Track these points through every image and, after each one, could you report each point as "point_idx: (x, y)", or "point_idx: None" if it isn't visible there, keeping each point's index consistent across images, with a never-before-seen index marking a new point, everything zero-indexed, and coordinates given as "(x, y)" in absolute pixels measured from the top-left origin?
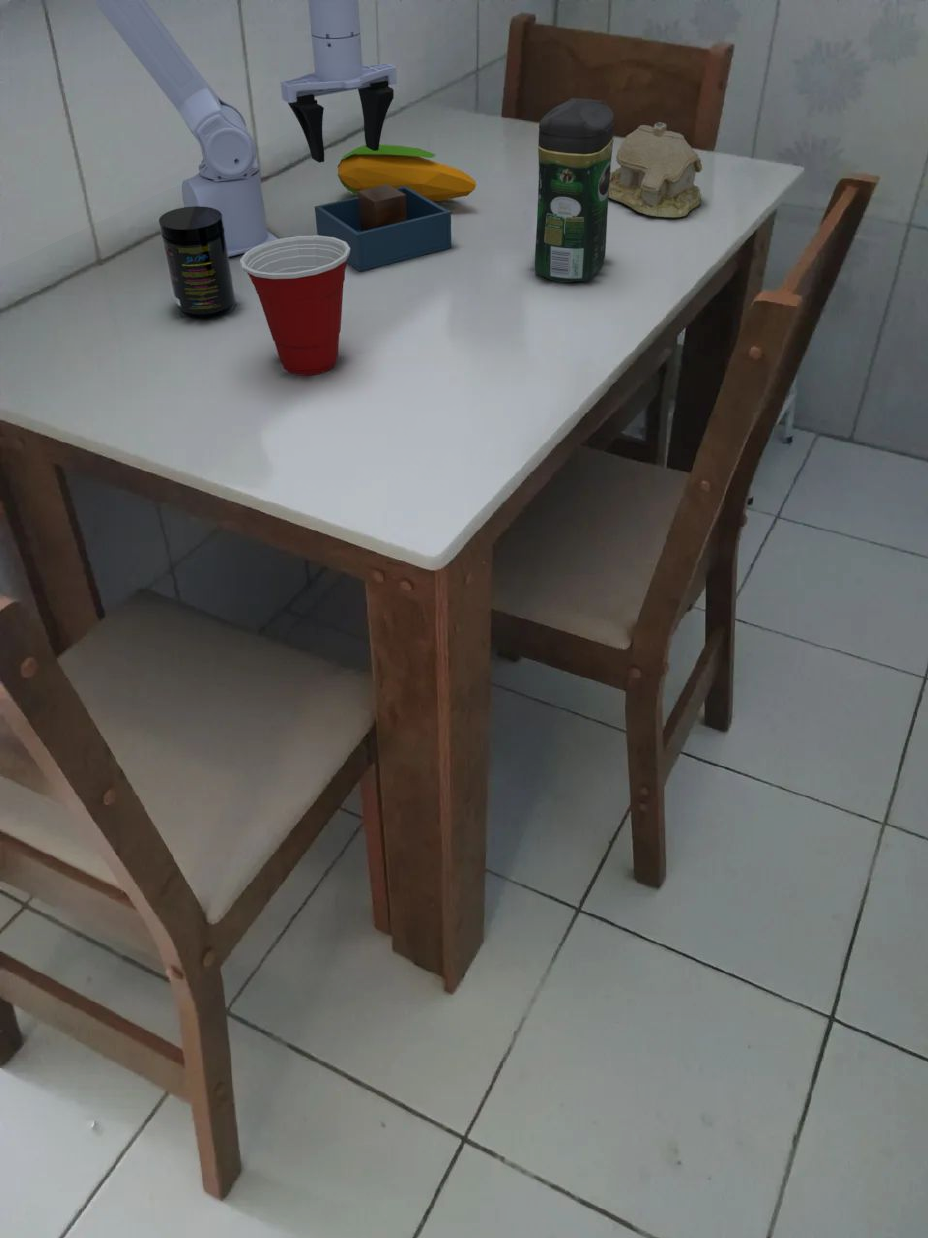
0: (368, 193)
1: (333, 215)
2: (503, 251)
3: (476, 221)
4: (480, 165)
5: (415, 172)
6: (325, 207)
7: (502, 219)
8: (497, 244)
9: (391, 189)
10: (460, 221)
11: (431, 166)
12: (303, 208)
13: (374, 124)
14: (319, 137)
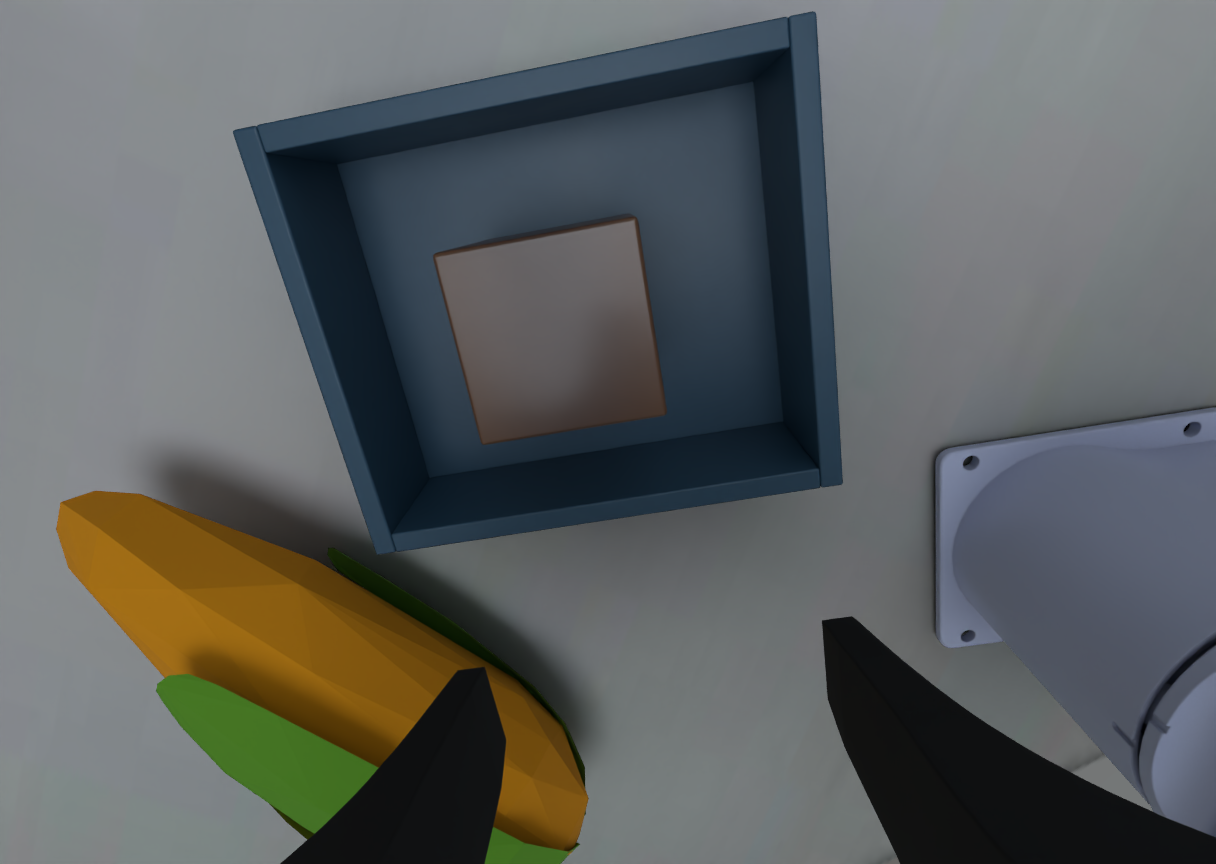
0: (625, 358)
1: (748, 456)
2: (100, 3)
3: (162, 374)
4: (66, 814)
5: (300, 639)
6: (794, 467)
7: (54, 351)
8: (115, 98)
9: (488, 362)
10: (225, 399)
11: (212, 642)
12: (730, 711)
13: (432, 790)
14: (919, 706)
